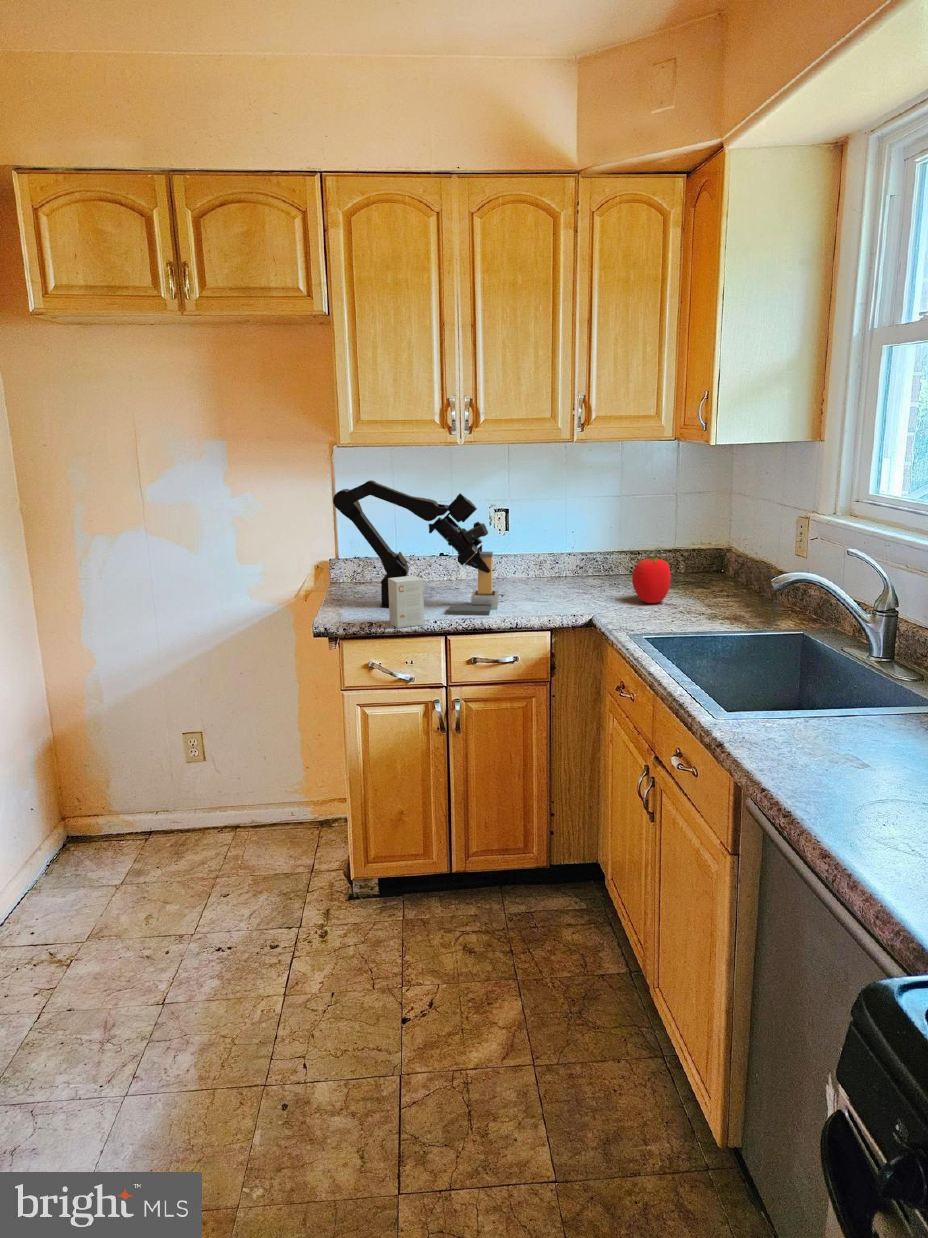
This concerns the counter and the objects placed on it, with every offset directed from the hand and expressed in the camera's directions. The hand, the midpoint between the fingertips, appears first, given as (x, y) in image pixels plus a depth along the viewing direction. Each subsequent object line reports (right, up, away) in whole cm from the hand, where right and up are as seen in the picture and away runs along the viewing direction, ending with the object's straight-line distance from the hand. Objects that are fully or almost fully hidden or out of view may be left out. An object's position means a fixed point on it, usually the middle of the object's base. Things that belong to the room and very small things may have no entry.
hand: (489, 570), depth 249 cm
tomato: (+49, -9, +6) cm, 51 cm away
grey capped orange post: (-1, -6, +2) cm, 7 cm away
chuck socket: (-1, -10, +3) cm, 11 cm away
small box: (-24, -16, -17) cm, 33 cm away
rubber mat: (-6, -12, -4) cm, 15 cm away
